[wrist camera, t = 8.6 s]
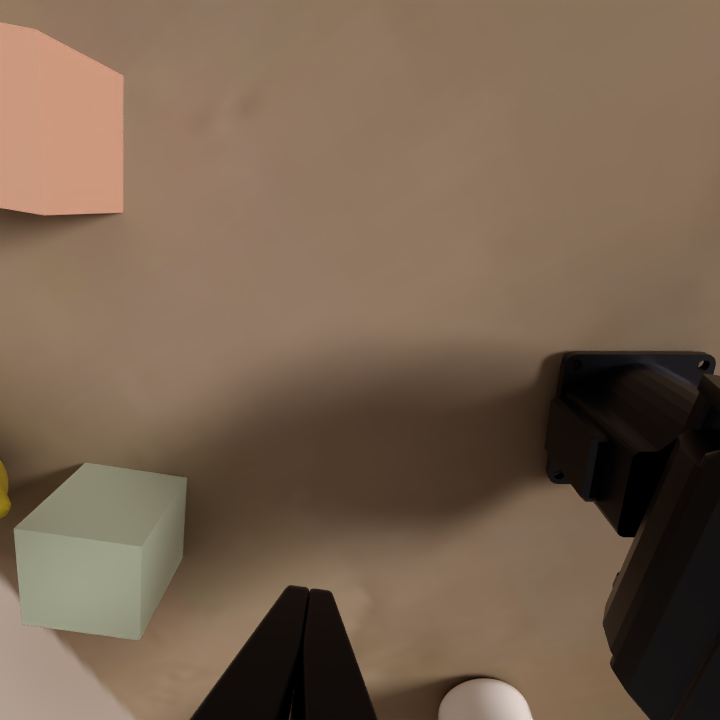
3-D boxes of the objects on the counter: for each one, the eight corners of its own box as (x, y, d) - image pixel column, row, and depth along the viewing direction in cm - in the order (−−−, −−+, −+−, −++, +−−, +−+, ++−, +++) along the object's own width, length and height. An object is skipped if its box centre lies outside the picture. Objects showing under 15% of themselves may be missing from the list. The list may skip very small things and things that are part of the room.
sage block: (187, 476, 23) (141, 546, 18) (183, 556, 25) (139, 640, 20) (86, 461, 23) (13, 528, 18) (88, 543, 25) (22, 624, 20)
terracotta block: (124, 76, 18) (34, 29, 13) (124, 212, 19) (44, 215, 14) (-10, 51, 17) (-152, -6, 13) (1, 191, 19) (-121, 187, 14)
